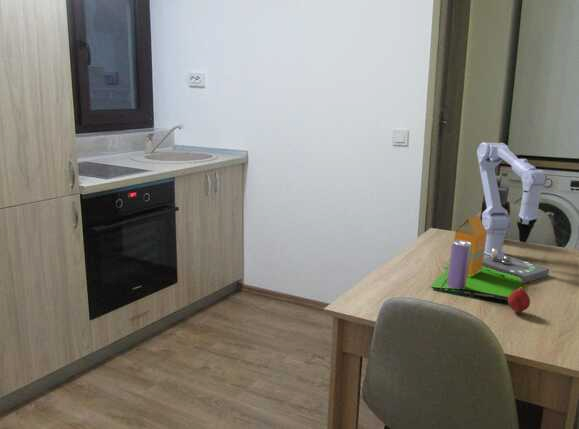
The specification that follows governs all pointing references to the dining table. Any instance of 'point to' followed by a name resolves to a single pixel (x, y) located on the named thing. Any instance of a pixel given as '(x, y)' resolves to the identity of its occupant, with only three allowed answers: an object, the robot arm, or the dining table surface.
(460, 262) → the beverage can
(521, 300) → the red round lump
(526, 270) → the dial plate
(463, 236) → the orange juice
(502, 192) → the toy vending machine
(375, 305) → the dining table surface
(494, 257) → the dial pointer
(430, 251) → the dining table surface
